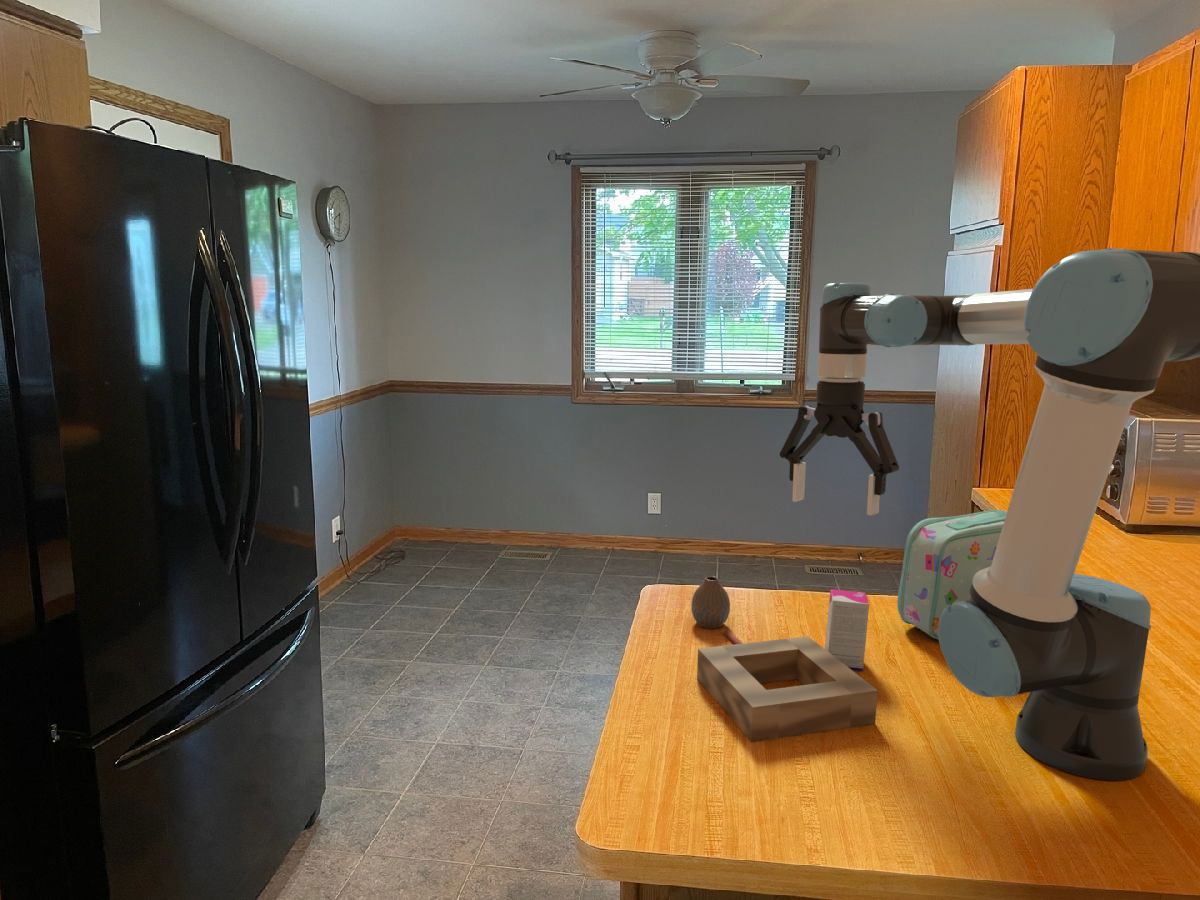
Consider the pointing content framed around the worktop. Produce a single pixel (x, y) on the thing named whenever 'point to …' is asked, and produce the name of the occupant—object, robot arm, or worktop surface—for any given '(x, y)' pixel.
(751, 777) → the worktop surface
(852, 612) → the supplement box
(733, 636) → the reddish-brown thin rod
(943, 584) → the lunch box
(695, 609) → the vase
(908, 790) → the worktop surface
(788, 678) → the brown wooden square frame
